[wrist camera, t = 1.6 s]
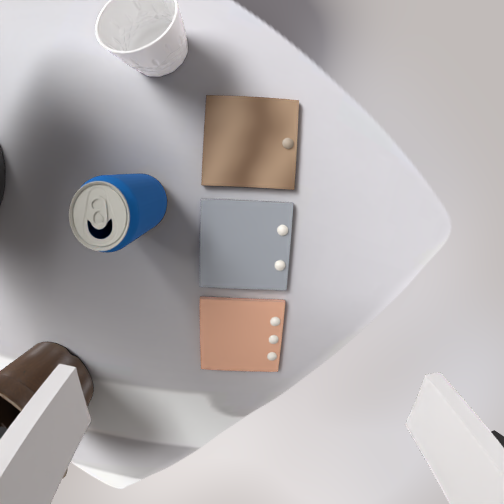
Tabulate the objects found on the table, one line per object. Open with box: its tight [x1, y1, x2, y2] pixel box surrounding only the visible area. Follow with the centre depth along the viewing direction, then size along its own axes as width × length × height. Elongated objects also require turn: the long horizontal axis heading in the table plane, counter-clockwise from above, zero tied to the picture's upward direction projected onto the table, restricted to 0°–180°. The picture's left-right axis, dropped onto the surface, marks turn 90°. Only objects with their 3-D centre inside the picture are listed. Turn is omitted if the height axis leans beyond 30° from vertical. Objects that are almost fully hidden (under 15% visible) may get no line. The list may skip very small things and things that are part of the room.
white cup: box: [95, 0, 188, 77], centre depth 25 cm, size 8×8×10 cm
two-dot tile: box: [200, 199, 293, 290], centre depth 36 cm, size 10×10×1 cm
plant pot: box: [0, 342, 93, 479], centre depth 32 cm, size 16×16×16 cm
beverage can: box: [69, 174, 167, 252], centre depth 29 cm, size 6×6×12 cm
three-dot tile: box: [200, 296, 285, 372], centre depth 38 cm, size 10×10×1 cm
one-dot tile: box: [201, 95, 299, 190], centre depth 33 cm, size 10×10×1 cm
